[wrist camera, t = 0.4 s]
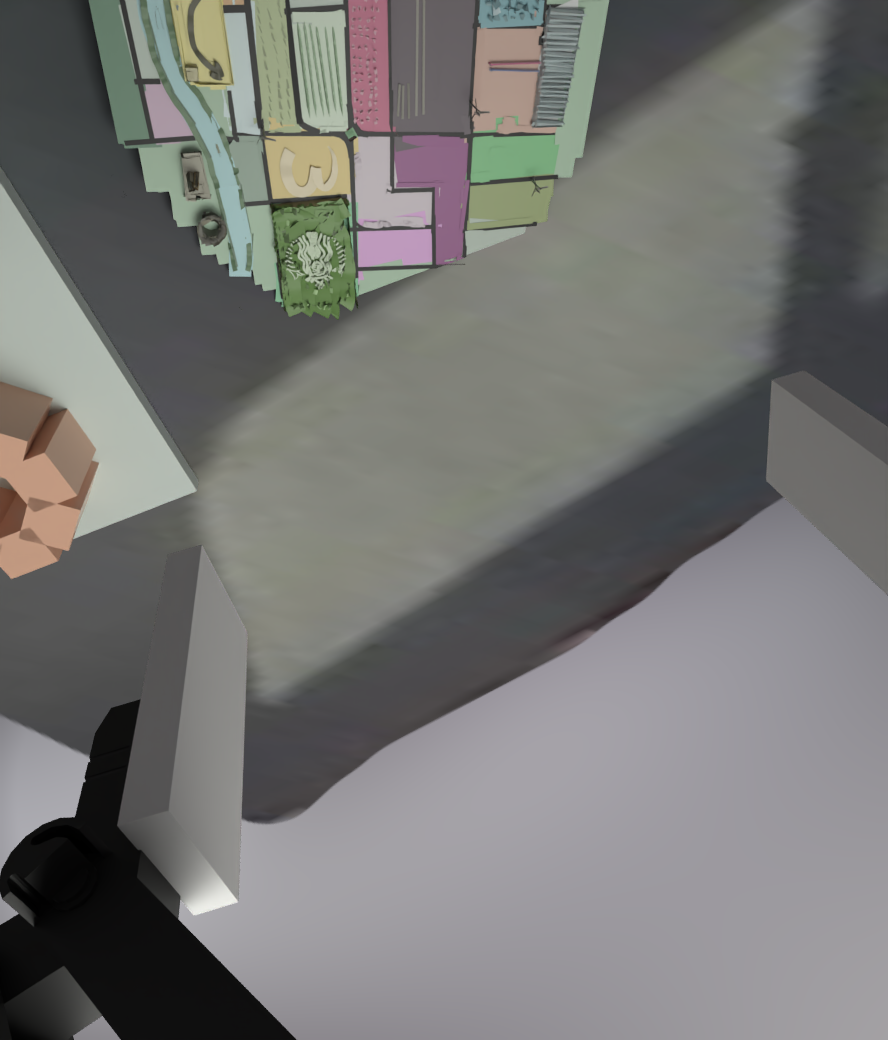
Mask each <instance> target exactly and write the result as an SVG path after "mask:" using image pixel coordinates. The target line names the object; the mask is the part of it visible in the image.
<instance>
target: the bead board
mask: <svg viewBox="0 0 888 1040" xmlns="http://www.w3.org/2000/svg"><path fill="white" fill-rule="evenodd" d="M0 382H3V383H7V384H10V385H13V386H16V387H19V388H22V389H25V390H29V391H32V392H35V393H38V394H41V395H44V396H47V397H50V398H53V400H52V403H51V407H50V411H49V415H48V416H50V415H53V414H56V413H58V412H61V411H63V410H66V409H68V410H69V411H70V413H71V414H72V416H73V417H74V418H75V420H76V421H77V423H78V424H79V425H80V427H81V428H82V430H83V431H84V433H85V434H86V435H87V437H88V438H89V440H90V441H91V442H92V444H93V445H94V447H95V448H96V452H95V454H94V456H93V459H92V461H94V462H98V463H99V465H98V469H97V472H96V475H95V479H94V482H93V485H92V489H91V492H90V495H89V499H88V502H87V504H86V507H85V509H84V512H83V515H82V517H81V520H80V523H79V525H78V528H77V530H76V533H75V536H74V538H77V537H79V536H82V535H85V534H87V533H90V532H92V531H95V530H97V529H100V528H103V527H105V526H108V525H110V524H113V523H115V522H118V521H121V520H123V519H126V518H128V517H131V516H134V515H136V514H139V513H141V512H144V511H146V510H149V509H152V508H154V507H157V506H159V505H162V504H164V503H167V502H170V501H172V500H175V499H177V498H180V497H182V496H185V495H188V494H190V493H193V492H195V491H197V488H198V482H199V480H198V479H197V477H196V476H195V474H194V473H193V471H192V469H191V468H190V466H189V465H188V463H187V461H186V460H185V458H184V457H183V455H182V453H181V452H180V450H179V449H178V447H177V446H176V444H175V442H174V441H173V439H172V438H171V436H170V434H169V433H168V431H167V430H166V428H165V427H164V425H163V423H162V422H161V420H160V419H159V417H158V415H157V414H156V412H155V411H154V409H153V408H152V406H151V404H150V403H149V401H148V400H147V398H146V396H145V395H144V393H143V392H142V390H141V388H140V387H139V385H138V384H137V382H136V381H135V379H134V377H133V376H132V374H131V373H130V371H129V369H128V368H127V366H126V365H125V363H124V362H123V360H122V358H121V357H120V355H119V354H118V352H117V350H116V349H115V347H114V346H113V344H112V343H111V341H110V339H109V338H108V336H107V335H106V333H105V331H104V330H103V328H102V327H101V325H100V323H99V322H98V320H97V319H96V317H95V316H94V314H93V312H92V311H91V309H90V308H89V306H88V304H87V303H86V301H85V300H84V298H83V297H82V295H81V293H80V292H79V290H78V289H77V287H76V285H75V284H74V282H73V281H72V279H71V277H70V276H69V274H68V273H67V271H66V270H65V268H64V266H63V265H62V263H61V262H60V260H59V258H58V257H57V255H56V254H55V252H54V251H53V249H52V247H51V246H50V244H49V243H48V241H47V239H46V238H45V236H44V235H43V233H42V232H41V230H40V228H39V227H38V225H37V224H36V222H35V220H34V219H33V217H32V216H31V214H30V212H29V211H28V209H27V208H26V206H25V205H24V203H23V201H22V200H21V198H20V197H19V195H18V193H17V192H16V190H15V189H14V187H13V186H12V184H11V182H10V181H9V179H8V178H7V176H6V174H5V173H4V171H3V170H2V168H1V166H0ZM0 487H2V488H6V489H10V490H13V491H16V490H15V489H14V488H13V487H12V486H11V484H10V483H9V482H8V481H7V479H5V478H1V477H0ZM74 538H73V539H74Z"/></svg>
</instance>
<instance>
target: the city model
mask: <svg viewBox="0 0 888 1040" xmlns="http://www.w3.org/2000/svg"><path fill="white" fill-rule="evenodd" d="M608 4H609V0H89V5H90V9H91V14H92V19H93V24H94V29H95V34H96V38H97V43H98V48H99V53H100V58H101V62H102V67H103V72H104V77H105V82H106V86H107V91H108V96H109V101H110V106H111V110H112V115H113V120H114V125H115V130H116V134H117V139H118V144H124V148H138V149H139V154H140V159H141V165H142V170H143V175H144V180H145V185H146V190H147V192H159V193H160V192H169V193H170V197H171V203H172V211H173V219H174V220H176V221H177V225H178V227H185V226H195V225H197V233H198V237H199V241H200V247H201V252H202V255H211V254H216V256H217V259H218V263H219V265H220V264H227V263H229V276H250V277H251V270H252V269H253V275H254V280H255V285H258V284H262V287H263V291H267V290H273V289H276V302H281V305H282V306H281V307H283V309H284V307H285V309H284V311H285V312H286V310H287V312H288V315H289V317H291V316H293V315H295V314H298V313H300V312H303V313H305V314H306V315H308V316H310V317H311V316H312V314H313V311H314V312H316V313H318V314H320V315H322V316H324V317H326V318H329V316H330V313H331V314H332V315H333V316H334V317H335V318H336V319H337V320H338V319H339V305H340V304H342V305H343V306H345V307H346V308H348V309H349V310H351V311H352V309H353V307H354V303H355V302H356V301H357V296H358V295H360V294H363V293H366V292H368V291H371V290H374V289H376V288H379V287H382V286H385V285H387V284H390V283H393V282H395V281H398V280H401V279H403V278H406V277H409V276H411V275H414V274H417V273H419V272H422V271H425V270H427V269H432V268H438V267H441V266H444V265H446V264H449V263H452V262H454V261H451V260H454V259H451V258H454V257H457V259H456V261H457V260H460V259H462V258H465V257H466V255H467V254H470V253H473V252H475V251H478V250H481V249H483V248H486V247H489V246H491V245H494V244H497V243H499V242H502V241H505V240H507V239H510V238H513V237H516V236H518V235H521V234H524V233H525V229H526V227H528V226H537V223H540V222H546V221H547V216H548V207H549V203H550V199H551V196H553V184H554V179H558V177H572V173H573V168H574V162H575V158H582V156H583V150H584V144H585V138H586V132H587V127H588V121H589V115H590V109H591V103H592V97H593V92H594V86H595V80H596V74H597V68H598V62H599V57H600V51H601V45H602V39H603V33H604V27H605V22H606V16H607V10H608ZM228 142H231V144H230V145H229V143H228ZM123 192H124V191H123ZM125 196H126V195H125ZM461 255H462V258H461ZM449 259H450V260H449ZM449 265H465V264H449ZM358 285H359V293H358ZM355 298H356V301H355ZM356 305H357V308H358V302H357V303H356ZM239 308H240V307H239Z"/></svg>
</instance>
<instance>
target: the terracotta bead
mask: <svg viewBox="0 0 888 1040" xmlns="http://www.w3.org/2000/svg"><path fill="white" fill-rule="evenodd" d="M52 400H53V398H50V397H47V396H44V395H41V394H38V393H35V392H32V391H29V390H25V389H22V388H19V387H16V386H13V385H10V384H7V383H3V382H0V477H1V478H5V479H7V481H8V482H9V483H10V484H11V486H12V487H13V488H14V489H15V490H16V491H13V490H10V489H6V488H2V487H0V567H1V568H2V569H3V570H4V571H5V572H6V573H7V574H8V575H9V577H10V578H11V579H13V578H16V577H18V576H21V575H23V574H26V573H28V572H31V571H34V570H36V569H39V568H41V567H44V566H47V565H49V564H52V563H54V562H57V561H59V558H60V556H61V553H62V551H63V550H67V551H69V549H70V546H71V543H72V541H73V538H74V536H75V533H76V530H77V528H78V525H79V523H80V520H81V517H82V515H83V512H84V509H85V507H86V504H87V502H88V499H89V495H90V492H91V489H92V485H93V482H94V479H95V475H96V472H97V469H98V465H99V463H98V462H94V461H92V459H93V456H94V454H95V452H96V448H95V447H94V445H93V444H92V442H91V441H90V440H89V438H88V437H87V435H86V434H85V433H84V431H83V430H82V428H81V427H80V425H79V424H78V423H77V421H76V420H75V418H74V417H73V416H72V414H71V413H70V411H69V410H68V409H66V410H63V411H61V412H58V413H56V414H53V415H50V416H48V415H49V411H50V407H51V403H52Z"/></svg>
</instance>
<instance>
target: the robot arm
mask: <svg viewBox="0 0 888 1040" xmlns="http://www.w3.org/2000/svg"><path fill="white" fill-rule="evenodd" d="M766 481H767V482H768V483H769V484H771V485H772V486H773V487H774V488H775V489H776V490H777V491H778V492H779V493H780V494H781V495H782V496H783V497H784V498H785V499H786V500H787V501H789V502H790V503H791V504H792V505H793V506H794V507H795V508H796V509H797V510H798V511H799V512H800V513H801V514H802V515H804V517H805V518H806V519H808V520H809V521H810V522H811V523H812V524H813V525H814V526H815V527H816V528H817V529H818V530H819V531H820V532H821V533H822V534H823V535H824V536H825V537H827V538H828V539H829V540H830V541H831V542H832V543H833V544H834V545H835V546H836V547H837V548H838V549H839V550H840V551H841V552H842V553H843V554H844V555H845V556H846V557H848V558H849V559H850V560H851V561H852V562H853V563H854V564H855V565H856V566H857V567H858V568H859V569H860V570H861V571H862V572H863V573H864V574H865V575H867V576H868V577H869V578H870V579H871V580H872V581H873V582H874V583H875V584H876V585H877V586H878V587H879V588H880V589H881V590H882V591H884V592H885V593H886V594H887V595H888V427H887V426H886V425H884V424H883V423H881V422H880V421H878V420H877V419H875V418H874V417H872V416H871V415H869V414H868V413H866V412H865V411H863V410H862V409H860V408H859V407H857V406H856V405H854V404H853V403H851V402H850V401H849V400H847V399H846V398H844V397H843V396H841V395H840V394H838V393H837V392H835V391H834V390H832V389H831V388H829V387H828V386H826V385H825V384H823V383H822V382H820V381H819V380H817V379H816V378H814V377H813V376H812V375H810V374H809V373H807V372H806V371H801V372H797V373H794V374H790V375H787V376H784V377H780V378H777V379H773V380H772V386H771V404H770V421H769V439H768V457H767V474H766ZM247 637H248V632H247V630H246V629H245V627H244V625H243V623H242V621H241V619H240V617H239V615H238V613H237V611H236V609H235V607H234V605H233V604H232V602H231V600H230V598H229V596H228V594H227V592H226V590H225V588H224V586H223V584H222V582H221V581H220V579H219V577H218V575H217V573H216V571H215V569H214V567H213V565H212V563H211V561H210V559H209V557H208V556H207V554H206V552H205V550H204V548H203V546H202V545H199V546H195V547H192V548H188V549H185V550H181V551H178V552H174V553H171V554H168V555H167V560H166V566H165V571H164V576H163V582H162V587H161V593H160V598H159V603H158V609H157V614H156V619H155V625H154V630H153V636H152V641H151V646H150V652H149V657H148V663H147V668H146V673H145V679H144V684H143V689H142V695H141V699H140V700H137V701H133V702H130V703H127V704H123V705H120V706H116V707H113V708H111V709H110V711H109V712H108V714H107V715H106V717H105V719H104V720H103V722H102V723H101V725H100V726H99V728H98V730H97V731H96V733H95V736H94V740H93V745H92V749H91V753H90V757H89V758H90V762H89V763H88V766H87V770H86V774H85V780H86V782H84V783H83V786H82V791H81V795H80V799H79V803H78V807H77V811H76V816H75V817H72V818H59V819H56V820H53V821H51V822H48V823H46V824H43V825H41V826H40V827H39V828H37V829H36V830H34V831H33V832H32V833H30V834H29V835H27V836H26V837H25V838H24V839H23V840H22V841H21V842H20V843H19V844H18V845H17V847H16V848H15V849H14V850H13V851H12V852H11V854H10V855H9V857H8V859H7V861H6V862H5V864H4V866H3V868H2V870H1V875H0V893H1V897H2V899H3V900H4V901H5V902H6V903H8V904H9V905H10V906H11V907H12V908H13V909H14V910H15V911H17V912H18V913H19V914H18V915H16V916H14V917H13V918H11V919H10V920H8V921H6V922H5V923H3V924H1V925H0V1040H74V1038H73V1035H75V1034H76V1033H77V1032H79V1031H80V1030H82V1029H83V1028H85V1027H86V1026H88V1025H89V1024H91V1023H92V1022H94V1021H95V1020H97V1019H98V1018H100V1017H101V1016H103V1017H104V1018H105V1020H106V1021H107V1022H108V1024H109V1025H110V1026H111V1027H112V1029H113V1030H114V1031H115V1033H116V1034H117V1035H118V1037H119V1038H120V1039H121V1040H296V1039H295V1038H294V1037H293V1036H292V1035H291V1034H290V1033H289V1032H288V1031H287V1029H286V1028H285V1027H284V1026H282V1024H281V1023H280V1022H279V1021H278V1020H277V1019H276V1018H275V1017H274V1016H273V1015H272V1014H271V1013H270V1012H269V1011H268V1010H267V1009H266V1008H265V1007H264V1006H263V1005H262V1004H261V1003H260V1002H259V1001H258V1000H257V999H256V998H255V997H254V996H253V995H252V994H251V993H250V992H249V991H248V990H247V989H246V988H245V987H244V986H243V985H242V984H241V983H240V982H239V981H238V980H237V979H236V978H235V977H234V976H233V975H232V974H231V973H230V972H229V971H228V970H227V968H225V967H224V965H223V964H222V963H221V962H220V961H218V959H217V958H216V957H215V956H214V955H213V954H212V953H211V952H210V951H209V950H208V949H207V948H206V947H205V946H204V945H203V944H202V943H201V942H200V941H199V940H198V939H197V938H196V937H195V936H194V935H193V934H192V933H191V932H190V931H189V930H188V929H187V928H186V927H185V926H184V925H183V924H182V923H181V922H180V921H179V920H178V917H179V916H178V915H179V906H180V900H181V901H182V902H183V903H184V904H185V906H186V907H187V908H188V909H189V910H190V911H191V913H192V914H193V915H198V914H201V913H204V912H207V911H211V910H214V909H217V908H220V907H224V906H227V905H230V904H233V903H237V902H238V901H239V873H240V841H241V814H242V784H243V755H244V725H245V696H246V666H247Z"/></svg>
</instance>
